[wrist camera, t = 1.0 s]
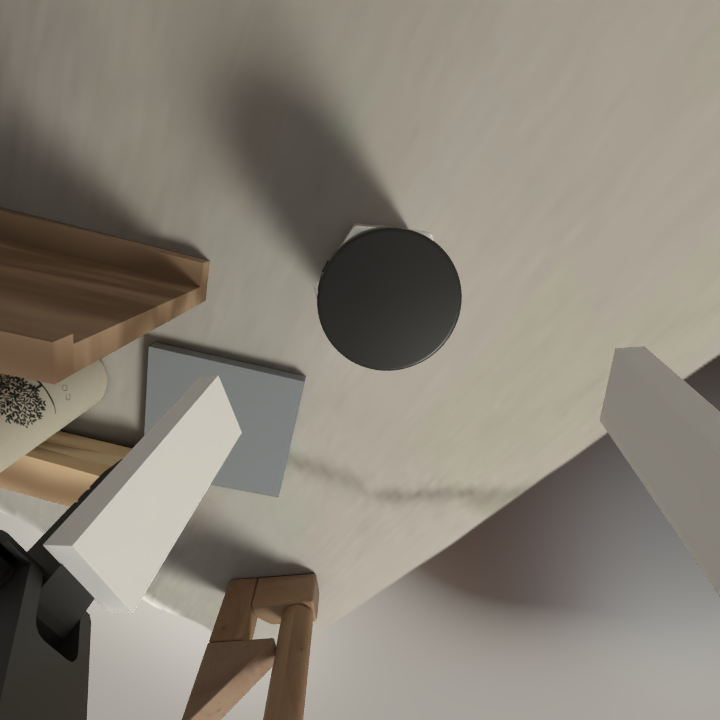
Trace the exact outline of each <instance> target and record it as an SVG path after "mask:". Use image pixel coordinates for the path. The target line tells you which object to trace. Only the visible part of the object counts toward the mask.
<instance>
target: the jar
mask: <svg viewBox="0 0 720 720" xmlns="http://www.w3.org/2000/svg"><path fill="white" fill-rule="evenodd" d="M322 272H323V273H322V274H321V276H320V278H319V280H318V282H317V283H316V285H315V287H314V291H315V293H316V295H317V307H318V315H319V319H320V322H321V325H322V328H323V330H324V332H325V334H326V336H327V338H328V339H329V341H330V342H331V344H332V345H333V346H334V347H335V348H336V349H337V350H338V351H339V352H340V353H341V354H342V355H343V356H345V357H346V358H347V359H349V360H350V361H352V362H354V363H356V364H358V365H360V366H363V367H366V368H370V369H375V370H383V371H391V370H400V369H405V368H408V367H411V366H414V365H416V364H419V363H421V362H423V361H424V360H426V359H428V358H429V357H430V356H432V355H433V354H434V353H436V352H437V351H438V350H439V349H440V348H441V347H442V346H443V345H444V343H445V342H446V341H447V340H448V338H449V337H450V335H451V334H452V332H453V330H454V328H455V326H456V323H457V321H458V317H459V314H460V309H461V298H462V294H461V285H460V280H459V276H458V273H457V271H456V268H455V266H454V264H453V262H452V261H451V259H450V257H449V256H448V255H447V253H446V252H445V251H444V250H443V249H442V248H441V247H440V246H439V245H438V244H437V243H436V242H435V241H434V239H433V236H432V234H431V233H430V232H425V231H420V230H414V229H409V228H400V227H390V226H379V225H368V224H358V223H355V224H354V225H353V226H352V227H351V229H350V231H349V232H348V234H347V235H346V237H345V238H344V240H343V241H342V243H341V244H340V246H339V247H338V249H337V251H336V252H335V253H334V254H333V256H332V257H331V259H330V261H329V260H328V261H327V263H326V265H325V267H324V269H323V271H322Z"/></svg>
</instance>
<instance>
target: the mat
mask: <svg viewBox="0 0 720 720" xmlns="http://www.w3.org/2000/svg"><path fill="white" fill-rule="evenodd" d="M215 375H218V376H219V378H220V380H221V383H222V385H223V388H224V390H225V393H226V395H227V397H228V400H229V402H230V405H231V407H232V410H233V412H234V414H235V417H236V419H237V422H238V424H239V427H240V429H241V432H242V433H241V435H240V436H239V438H238V440H237V441H236V443H235V445H234V446H233V448H232V450H231V451H230V453H229V455H228V456H227V458H226V460H225V461H224V463H223V465H222V466H221V468H220V470H219V471H218V473H217V475H216V476H215V478H214V479H213V481H212V483H211V484H210V485H215V486H220V487H226V488H231V489H236V490H241V491H247V492H252V493H257V494H263V495H268V496H273V497H278V496H279V492H280V488H281V484H282V479H283V475H284V471H285V466H286V462H287V457H288V453H289V448H290V444H291V440H292V435H293V431H294V426H295V422H296V417H297V413H298V408H299V404H300V400H301V395H302V391H303V386H304V382H305V377H306V376H302V375H298V374H293V373H289V372H285V371H280V370H276V369H271V368H267V367H263V366H258V365H254V364H249V363H245V362H241V361H236V360H232V359H227V358H223V357H219V356H214V355H210V354H205V353H201V352H197V351H192V350H188V349H184V348H179V347H175V346H170V345H166V344H162V343H157V342H155V343H153V344H152V345H150V346H149V351H148V370H147V390H146V410H145V429H144V436H145V435H146V434H147V433H148V431H149V430H150V429H151V428H152V427H153V426H154V425H155V424H156V423H157V422H158V421H159V420H160V419H161V417H162V416H163V415H164V414H165V413H166V412H167V411H168V410H169V409H170V408H171V407H172V406H173V405H174V404H175V402H176V401H177V400H178V399H179V398H180V397H181V396H182V395H183V394H184V393H185V392H186V391H187V390H188V389H189V387H190V386H191V385H192V384H193V383H194V382H195V381H196V380H197V379H198V378H199V377H200V376H215Z"/></svg>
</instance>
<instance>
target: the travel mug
mask: <svg viewBox="0 0 720 720" xmlns="http://www.w3.org/2000/svg"><path fill="white" fill-rule="evenodd" d="M106 388H107V376H106V372H105V369H104V366H103V364H102V362H101V361H100V359H99V360H98V361H96V362H94V363H92V364H90V365H89V366H87V367H85V368H83V369H81V370H80V371H78V372H76V373H74V374H72V375H71V376H69V377H67V378H65V379H63V380H62V381H60V382H58V383H56V384H50V383H45V382H40V381H35V380H31V379H26V378H21V377H16V376H11V375H7V374H2V373H0V473H1V472H2V471H4V470H5V469H6V468H8V467H9V466H11V465H12V464H13V463H15V462H16V461H17V460H19V459H20V458H22V457H23V456H24V455H26V454H27V453H29V452H30V451H31V450H33V449H34V448H35V447H37V446H38V445H40V444H41V443H42V442H44V441H45V440H47V439H48V438H49V437H51V436H52V435H54V434H55V433H56V432H58V431H59V430H60V429H62V428H63V427H65V426H66V425H67V424H69V423H70V422H72V421H73V420H74V419H76V418H77V417H78V416H80V415H81V414H83V413H84V412H85V411H87V410H88V409H90V408H91V407H92V406H94V405H95V404H96V403H98V402H99V401H100V400H101V399H102V397H103V396H104V394H105V391H106Z"/></svg>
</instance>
